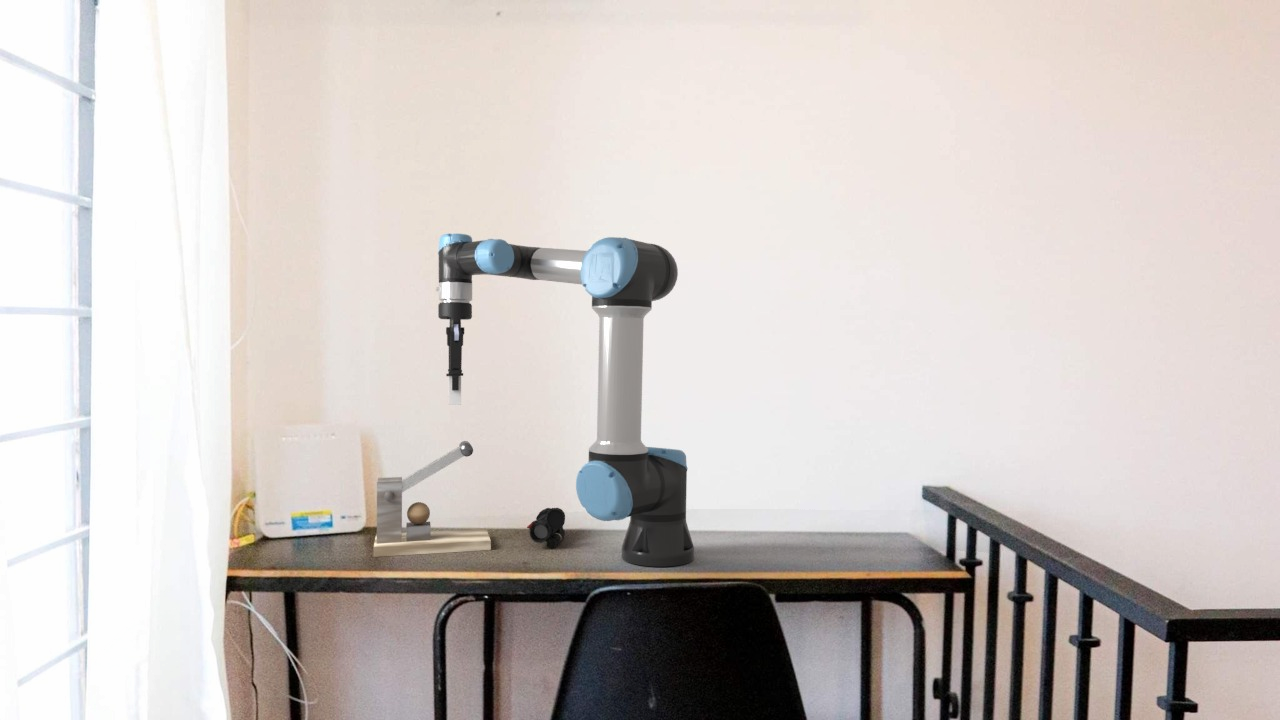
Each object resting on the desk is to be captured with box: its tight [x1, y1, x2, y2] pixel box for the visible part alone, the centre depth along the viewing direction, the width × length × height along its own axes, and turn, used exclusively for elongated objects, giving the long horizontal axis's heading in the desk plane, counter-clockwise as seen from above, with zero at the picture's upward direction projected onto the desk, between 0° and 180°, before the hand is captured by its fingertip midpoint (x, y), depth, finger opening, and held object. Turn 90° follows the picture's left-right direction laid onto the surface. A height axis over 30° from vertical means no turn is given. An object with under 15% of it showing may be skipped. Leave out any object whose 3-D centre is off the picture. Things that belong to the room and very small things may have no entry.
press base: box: [372, 476, 492, 558], centre depth 175 cm, size 12×24×15 cm, turn 106°
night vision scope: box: [526, 507, 566, 549], centre depth 181 cm, size 8×18×10 cm
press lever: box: [401, 440, 474, 493], centre depth 175 cm, size 7×21×3 cm, turn 106°
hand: (454, 404), depth 185 cm, fingers closed
